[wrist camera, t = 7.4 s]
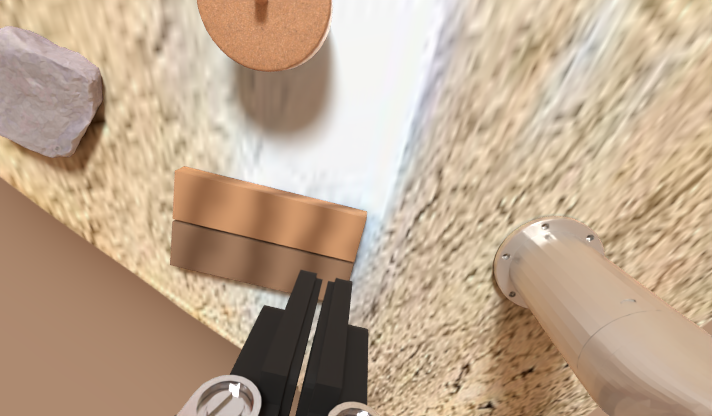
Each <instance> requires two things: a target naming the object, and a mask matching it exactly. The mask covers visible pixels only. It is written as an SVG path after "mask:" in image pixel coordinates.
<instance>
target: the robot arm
mask: <svg viewBox="0 0 712 416" xmlns="http://www.w3.org/2000/svg"><path fill="white" fill-rule="evenodd" d="M494 275H495V280H496V282H497V284H498V286H499V288H500V289H501V291H502V293H503V294H504V295H505V296H506V297H507V298H508V299H509V300H510V301H512V302H513V303H515V304H516V305H519V306H521V307H523V308H527V309H530V311H531V312H532V313H533V315H534V316H535V318H536V319H537V321H538V322H539V323H540V325H541V326H542V328H543V329H544V331H545V332H546V334H547V335H548V336H549V338H550V339H551V341H552V342H553V344H554V345H555V346H556V348H557V349H558V351H559V352H560V354H561V355H562V356H563V358H564V359H565V361H566V362H567V364H568V365H569V366H570V368H571V369H572V371H573V372H574V374H575V375H576V377H577V378H578V379H579V381H580V382H581V384H582V385H583V386H584V388H585V389H586V390H587V392H588V393H589V395H590V396H591V397H592V399H593V400H594V401H595V402H596V404H597V405H598V406H599V407H600V408H601V409H602V410H603V411H604V412H605V413H606V414H608V415H609V416H712V336H711V335H710V334H708V333H707V332H706V331H704V330H703V329H702V328H700V327H699V326H698V325H696V324H695V323H694V322H692V321H691V320H689V319H688V318H686V317H685V316H684V315H682V314H681V313H680V312H678V311H677V310H676V309H674V308H673V307H672V306H670V305H669V304H668V303H666V302H665V301H664V300H662V299H661V298H660V297H658V296H657V295H656V294H654V293H653V292H652V291H650V290H649V289H648V288H646V287H645V286H644V285H642V284H641V283H639V282H638V281H637V280H635V279H634V278H633V277H631V276H630V275H629V274H627V273H626V272H625V271H623V270H622V269H621V268H619V267H618V266H617V265H615V264H614V263H613V262H611V261H610V260H609V259H607V258H606V257H605V255H604V248H603V245H602V242H601V240H600V238H599V237H598V235H597V234H596V233H595V232H594V231H593V230H592V229H591V228H590V227H588V226H587V225H585V224H584V223H582V222H580V221H578V220H576V219H573V218H569V217H564V216H549V217H542V218H538V219H535V220H532V221H530V222H528V223H525V224H523V225H522V226H520V227H519V228H517V229H516V230H514V231H513V232H512V233H511V234H510V235H509V236H508V237H507V238H506V239H505V240H504V242H503V243H502V244H501V246H500V248H499V250H498V252H497V254H496V257H495V261H494ZM322 281H323V279H319V278H317V273H314V272H310V271H305V270H300V272H299V275H298V277H297V280H296V282H295V285H294V288H293V290H292V293H291V295H290V298H289V300H288V303H287V306H286V308H285V310H283V309H279V308H275V307H270V306H266V305H264V306H263V308H262V310H261V312H260V314H259V316H258V318H257V320H256V322H255V324H254V326H253V328H252V330H251V332H250V334H249V336H248V338H247V340H246V342H245V344H244V346H243V348H242V350H241V353H240V355H239V357H238V359H237V361H236V363H235V365H234V367H233V369H232V371H231V373H230V375H223V376H220V377H216V378H213V379H211V380H209V381H208V382H206V383H204V384H203V385H202V386H201V387H200V388H199V389H197V391H196V392H195V393H194V394H193V395H192V396H191V398H190V399H189V400H188V402H187V403H186V404H185V405H184V407H183V408H182V409H181V411H180V412H179V413H178V414H177V415H176V416H289V414H290V410H291V406H292V402H293V398H294V394H295V390H296V386H297V382H298V378H299V374H300V370H301V366H302V362H303V358H304V354H305V350H306V346H307V342H308V338H309V334H310V330H311V326H312V322H313V318H314V314H315V309H316V305H317V301H318V297H319V293H320V289H321V285H322ZM351 291H352V281H348V280H343V279H339V278H336V279H335V282H332V281H328V283H327V287H326V291H325V295H324V299H323V303H322V307H321V311H320V315H319V319H318V323H317V327H316V331H315V335H314V339H313V343H312V347H311V351H310V355H309V360H308V364H307V368H306V373H305V377H304V381H303V385H302V390H301V395H300V398H299V403H298V408H297V411H296V416H380V415H379V414H378V413H377V412H376V411H375V410H374V409H372V408H371V407H369V406H367V379H368V329H365V328H361V327H357V326H352V325H348V321H349V311H350V301H351Z"/></svg>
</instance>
